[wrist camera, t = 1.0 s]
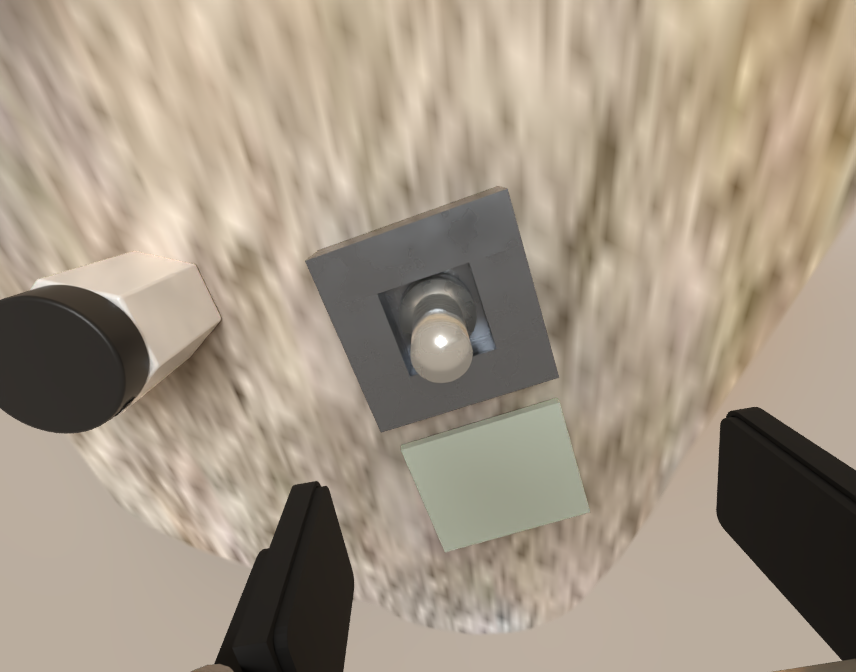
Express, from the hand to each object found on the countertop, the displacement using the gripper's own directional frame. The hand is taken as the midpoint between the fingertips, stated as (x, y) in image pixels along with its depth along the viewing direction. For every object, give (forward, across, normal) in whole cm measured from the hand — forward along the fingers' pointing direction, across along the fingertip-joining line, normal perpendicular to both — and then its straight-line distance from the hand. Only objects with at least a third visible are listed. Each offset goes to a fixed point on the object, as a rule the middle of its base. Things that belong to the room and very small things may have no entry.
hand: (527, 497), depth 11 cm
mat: (+26, -2, +19) cm, 32 cm away
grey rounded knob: (+25, +1, +2) cm, 25 cm away
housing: (+26, +1, +2) cm, 26 cm away
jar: (+27, +22, -1) cm, 35 cm away
